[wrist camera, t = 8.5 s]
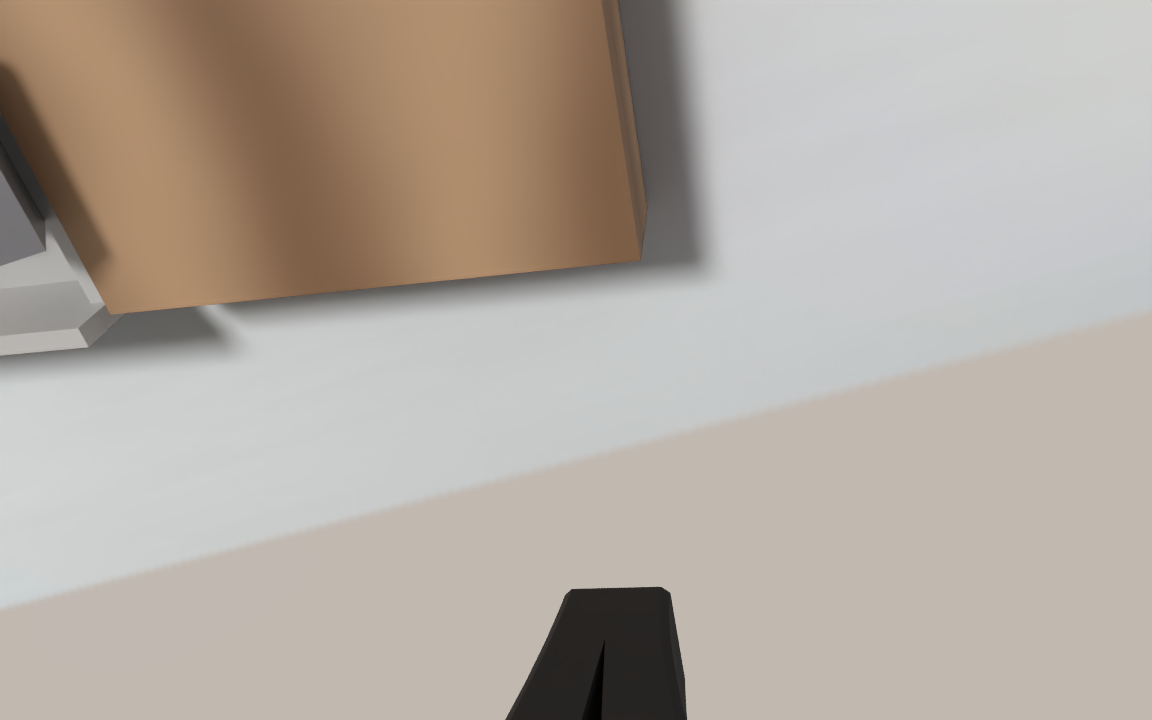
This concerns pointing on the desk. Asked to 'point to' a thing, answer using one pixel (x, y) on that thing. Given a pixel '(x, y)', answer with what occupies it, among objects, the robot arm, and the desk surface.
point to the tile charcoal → (18, 216)
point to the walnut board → (324, 141)
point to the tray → (47, 284)
